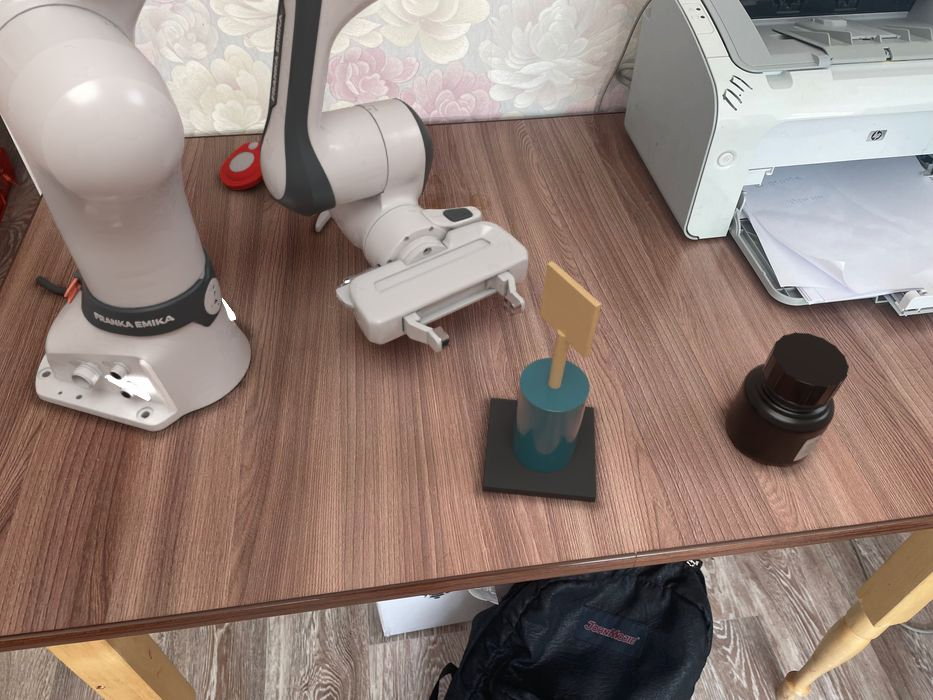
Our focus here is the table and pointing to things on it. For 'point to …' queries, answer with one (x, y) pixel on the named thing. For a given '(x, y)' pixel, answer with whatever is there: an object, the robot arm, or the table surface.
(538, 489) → the plate
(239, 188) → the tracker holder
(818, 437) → the ink bottle
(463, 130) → the table surface
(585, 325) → the spatula crock
